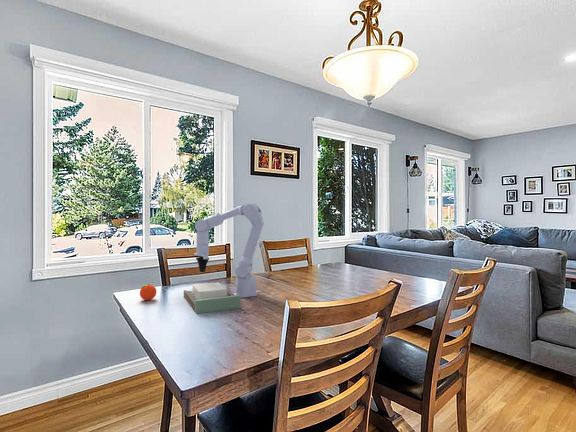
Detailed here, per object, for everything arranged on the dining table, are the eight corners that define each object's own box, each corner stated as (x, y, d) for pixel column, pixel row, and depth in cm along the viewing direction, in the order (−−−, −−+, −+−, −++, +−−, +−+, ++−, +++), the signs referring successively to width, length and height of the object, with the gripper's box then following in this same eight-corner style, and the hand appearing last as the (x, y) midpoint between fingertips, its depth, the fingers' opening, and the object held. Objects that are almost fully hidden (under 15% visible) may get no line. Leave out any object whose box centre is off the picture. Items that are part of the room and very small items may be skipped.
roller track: (222, 292, 162) (222, 286, 162) (238, 306, 140) (238, 299, 140) (183, 296, 153) (183, 290, 153) (194, 311, 132) (194, 304, 132)
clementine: (136, 303, 142) (136, 286, 142) (137, 298, 149) (137, 283, 149) (156, 301, 145) (156, 285, 145) (156, 297, 152) (156, 282, 152)
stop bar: (238, 306, 140) (238, 294, 140) (240, 307, 138) (240, 295, 138) (194, 312, 132) (195, 299, 131) (195, 313, 130) (196, 301, 130)
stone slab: (218, 288, 157) (218, 282, 157) (226, 295, 144) (227, 289, 144) (192, 291, 151) (192, 284, 151) (199, 298, 139) (199, 291, 139)
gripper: (191, 242, 164) (190, 269, 165) (197, 246, 152) (197, 275, 152) (205, 242, 168) (205, 268, 168) (212, 245, 155) (212, 274, 155)
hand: (202, 271), depth 160 cm, fingers closed
